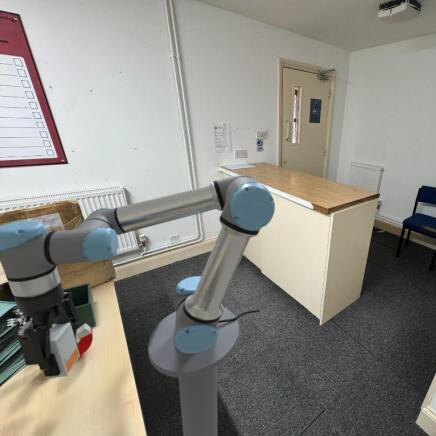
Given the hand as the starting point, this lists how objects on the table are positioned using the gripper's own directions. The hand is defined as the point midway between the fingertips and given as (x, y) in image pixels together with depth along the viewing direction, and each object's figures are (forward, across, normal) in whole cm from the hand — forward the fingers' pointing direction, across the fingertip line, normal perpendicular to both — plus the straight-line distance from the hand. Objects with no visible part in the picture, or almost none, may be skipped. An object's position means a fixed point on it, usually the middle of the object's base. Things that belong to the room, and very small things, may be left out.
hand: (63, 361), depth 61 cm
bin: (+10, -27, -14) cm, 32 cm away
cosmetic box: (+2, 0, 0) cm, 2 cm away
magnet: (+11, -10, -6) cm, 16 cm away
